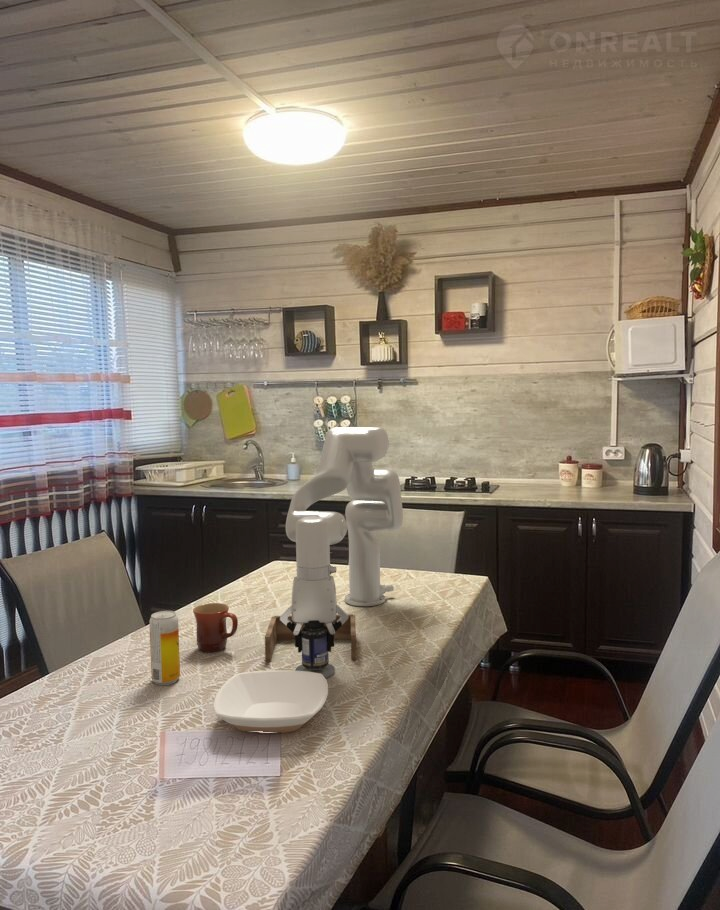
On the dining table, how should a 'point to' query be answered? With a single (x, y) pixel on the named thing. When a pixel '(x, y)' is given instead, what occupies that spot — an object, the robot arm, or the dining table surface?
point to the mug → (213, 626)
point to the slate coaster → (319, 670)
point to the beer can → (164, 647)
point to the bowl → (271, 700)
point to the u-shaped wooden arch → (282, 632)
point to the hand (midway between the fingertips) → (314, 649)
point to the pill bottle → (314, 645)
